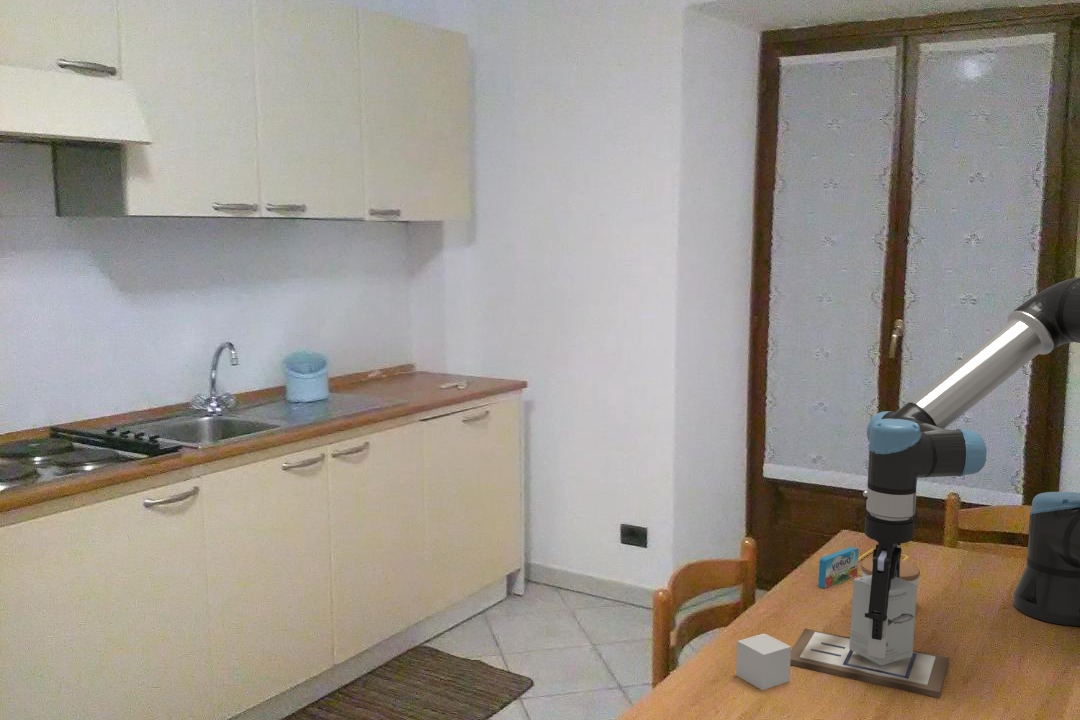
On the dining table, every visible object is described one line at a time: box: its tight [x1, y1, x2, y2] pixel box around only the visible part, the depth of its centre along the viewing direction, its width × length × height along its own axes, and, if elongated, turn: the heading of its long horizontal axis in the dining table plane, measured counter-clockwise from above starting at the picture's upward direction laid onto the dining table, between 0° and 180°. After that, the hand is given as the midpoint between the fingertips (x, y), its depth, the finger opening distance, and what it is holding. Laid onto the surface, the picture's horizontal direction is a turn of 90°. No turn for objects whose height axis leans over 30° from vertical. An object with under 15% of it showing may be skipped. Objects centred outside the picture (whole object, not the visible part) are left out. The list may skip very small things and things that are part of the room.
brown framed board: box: [790, 627, 950, 699], centre depth 162 cm, size 24×14×1 cm, turn 62°
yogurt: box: [817, 546, 860, 589], centre depth 200 cm, size 12×2×6 cm, turn 130°
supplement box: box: [849, 575, 918, 666], centre depth 160 cm, size 7×7×13 cm
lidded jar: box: [860, 557, 921, 589], centre depth 188 cm, size 11×11×9 cm
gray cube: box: [735, 632, 792, 691], centre depth 156 cm, size 6×6×6 cm
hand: (881, 644), depth 161 cm, fingers closed on supplement box, 10 cm apart
